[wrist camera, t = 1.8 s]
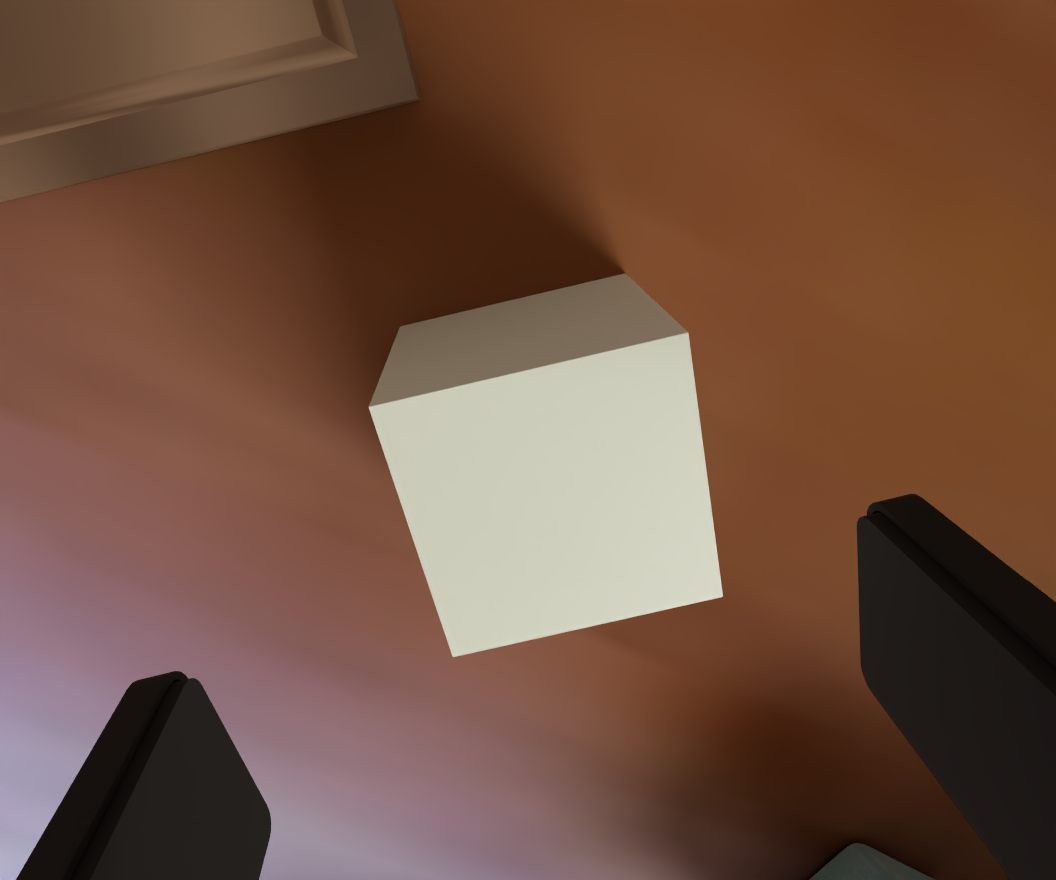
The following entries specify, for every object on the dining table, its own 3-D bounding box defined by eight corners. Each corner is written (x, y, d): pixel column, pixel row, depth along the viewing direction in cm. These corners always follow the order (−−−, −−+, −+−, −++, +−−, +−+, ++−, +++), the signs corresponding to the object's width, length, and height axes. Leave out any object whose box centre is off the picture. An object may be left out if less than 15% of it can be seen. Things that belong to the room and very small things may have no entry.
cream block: (624, 272, 18) (688, 332, 13) (657, 474, 21) (723, 597, 15) (400, 325, 19) (368, 406, 13) (458, 519, 21) (452, 656, 15)
